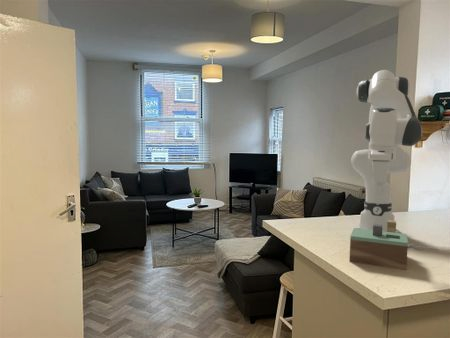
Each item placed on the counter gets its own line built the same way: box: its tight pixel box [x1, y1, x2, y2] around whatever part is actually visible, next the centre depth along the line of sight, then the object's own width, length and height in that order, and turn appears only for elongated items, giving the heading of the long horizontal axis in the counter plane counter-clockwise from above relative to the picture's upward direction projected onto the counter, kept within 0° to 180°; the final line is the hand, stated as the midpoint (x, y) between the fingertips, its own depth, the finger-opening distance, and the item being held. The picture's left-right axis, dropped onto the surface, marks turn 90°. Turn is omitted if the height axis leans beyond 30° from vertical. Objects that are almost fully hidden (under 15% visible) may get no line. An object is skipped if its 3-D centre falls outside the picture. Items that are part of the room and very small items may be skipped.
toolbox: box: [349, 239, 409, 271], centre depth 127 cm, size 12×18×9 cm, turn 65°
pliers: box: [408, 243, 439, 251], centre depth 144 cm, size 10×2×15 cm
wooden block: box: [387, 220, 397, 233], centre depth 136 cm, size 3×3×13 cm
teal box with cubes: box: [349, 224, 409, 247], centre depth 127 cm, size 12×18×6 cm, turn 65°
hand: (379, 193), depth 125 cm, fingers open, 8 cm apart
